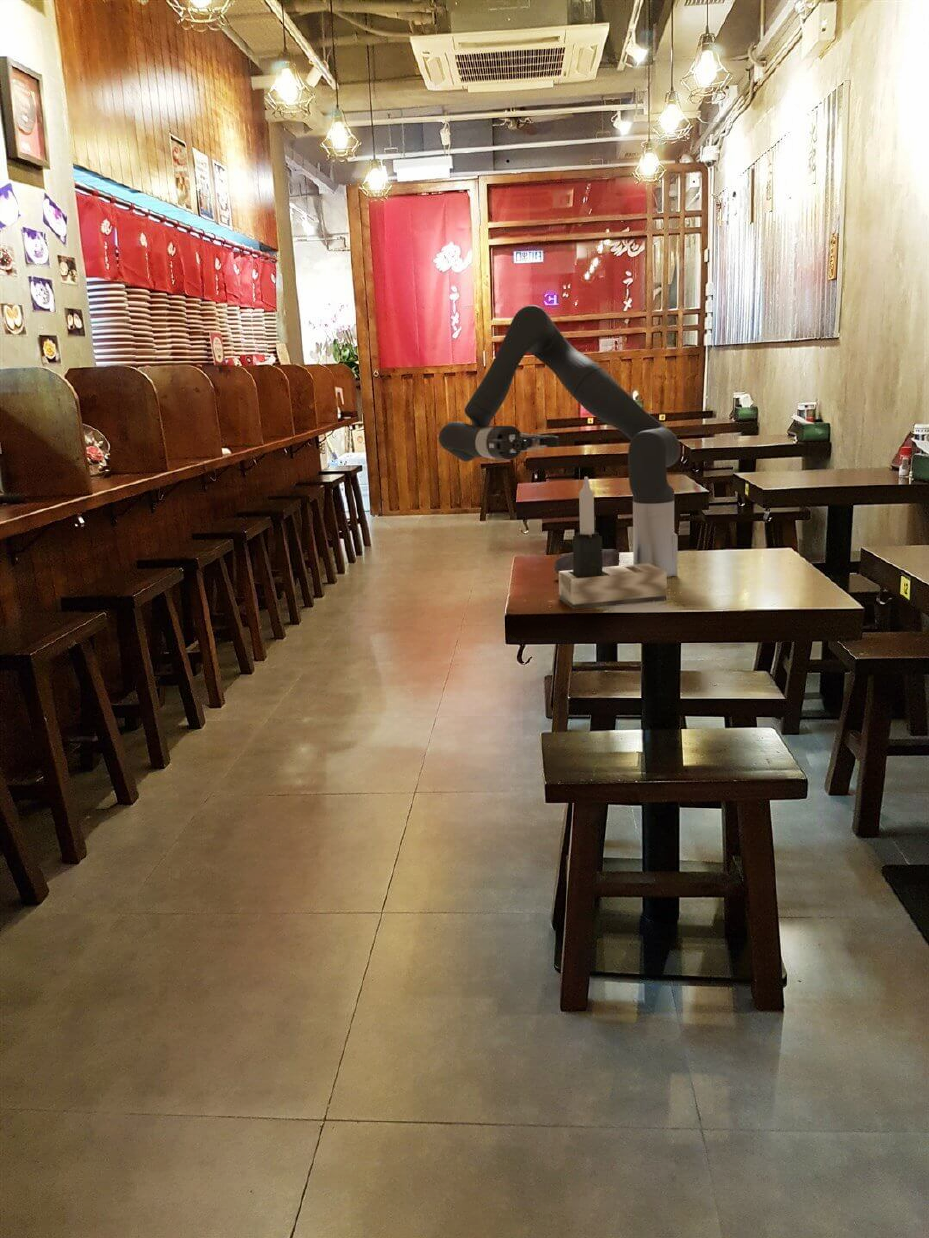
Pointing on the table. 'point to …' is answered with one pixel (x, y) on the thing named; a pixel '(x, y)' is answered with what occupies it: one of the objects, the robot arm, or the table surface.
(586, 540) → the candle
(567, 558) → the perforated stone tool
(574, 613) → the table surface
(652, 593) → the stand
